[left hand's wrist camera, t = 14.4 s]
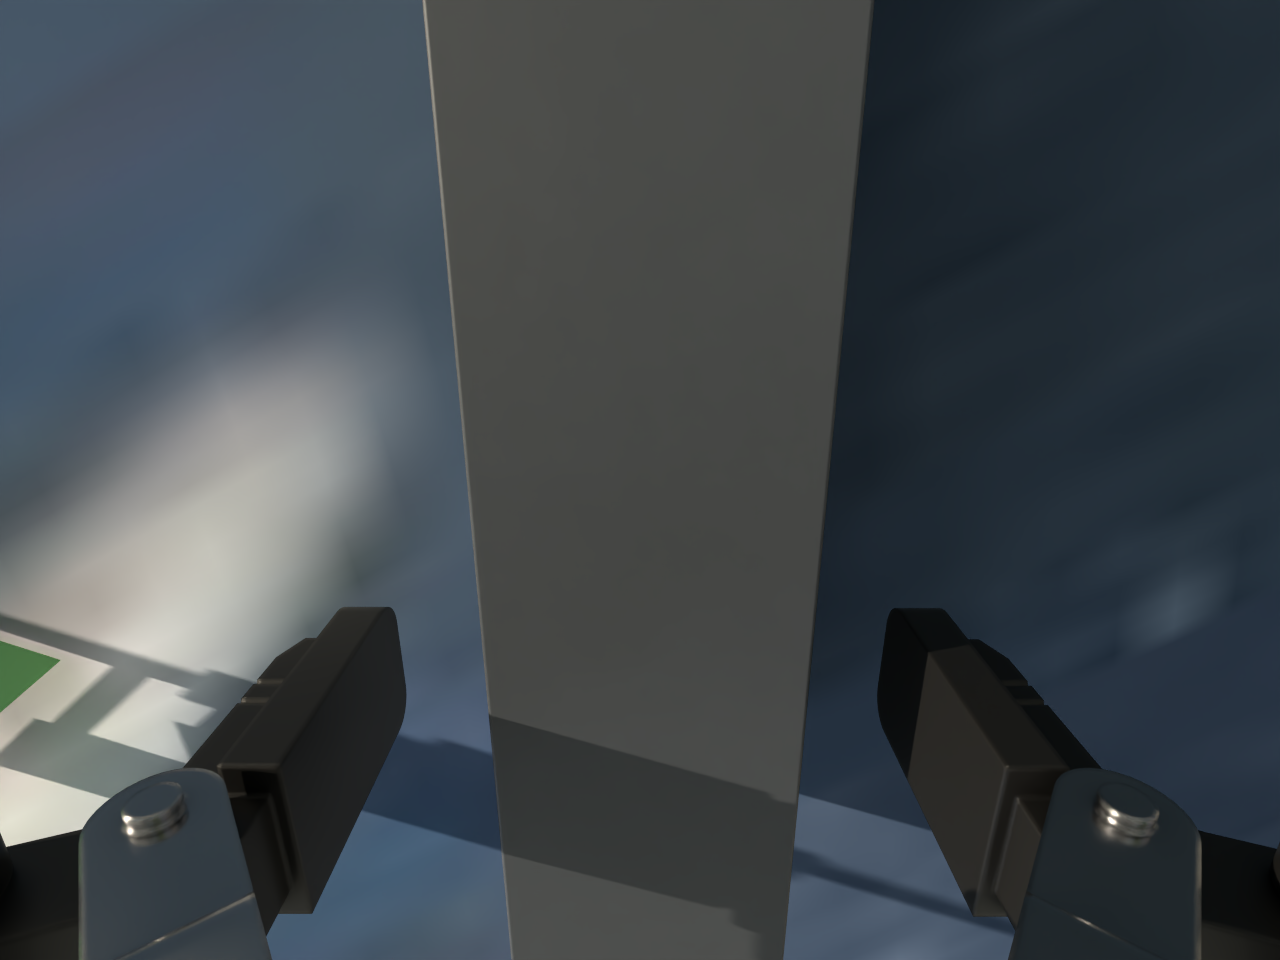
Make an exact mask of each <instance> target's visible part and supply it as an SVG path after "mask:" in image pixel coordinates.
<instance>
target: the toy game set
mask: <svg viewBox="0 0 1280 960" xmlns="http://www.w3.org/2000/svg"><path fill="white" fill-rule="evenodd" d="M59 661H60V660H58V659H55V658H52V657H49V656H46V655H43V654H39V653H36V652H33V651H30V650H27V649H24V648H21V647H17V646H14V645H11V644H8V643H5V642H2V641H0V712H1V711H2V710H4V709H5V708H6V707H7V706H8V705H9V704H11V703H12V702H13V701H14V700H15V699H16V698H17V697H19V696H20V695H21V694H22V693H23V692H24V691H26V690H27V689H28V688H29V687H30V686H31V685H32V684H34V683H35V682H36V681H37V680H38V679H39V678H41V677H42V676H43V675H44V674H45V673H46V672H48V671H49V670H50V669H51V668H52V667H53V666H54V665H56V664H57V663H58V662H59Z"/></svg>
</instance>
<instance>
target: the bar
mask: <svg viewBox="0 0 1280 960" xmlns="http://www.w3.org/2000/svg"><path fill="white" fill-rule="evenodd" d="M874 1H875V0H422V2H423V12H424V23H425V34H426V45H427V55H428V66H429V77H430V88H431V98H432V109H433V120H434V131H435V141H436V152H437V163H438V174H439V184H440V195H441V206H442V217H443V227H444V238H445V249H446V260H447V270H448V281H449V292H450V303H451V313H452V324H453V335H454V346H455V356H456V367H457V378H458V389H459V399H460V410H461V421H462V432H463V442H464V453H465V464H466V475H467V485H468V496H469V507H470V518H471V528H472V539H473V550H474V561H475V571H476V582H477V593H478V604H479V614H480V625H481V636H482V647H483V657H484V668H485V679H486V690H487V700H488V711H489V722H490V733H491V743H492V754H493V765H494V776H495V786H496V797H497V808H498V819H499V829H500V840H501V851H502V862H503V872H504V883H505V894H506V905H507V915H508V926H509V937H510V948H511V958H512V960H783V954H784V944H785V934H786V923H787V913H788V902H789V892H790V881H791V871H792V860H793V850H794V839H795V829H796V818H797V808H798V797H799V787H800V776H801V766H802V755H803V745H804V734H805V724H806V713H807V703H808V692H809V682H810V671H811V661H812V650H813V640H814V630H815V619H816V609H817V598H818V588H819V577H820V567H821V556H822V546H823V535H824V525H825V514H826V504H827V493H828V483H829V472H830V462H831V451H832V441H833V430H834V420H835V409H836V399H837V388H838V378H839V367H840V357H841V346H842V336H843V326H844V315H845V305H846V294H847V284H848V273H849V263H850V252H851V242H852V231H853V221H854V210H855V200H856V189H857V179H858V168H859V158H860V147H861V137H862V126H863V116H864V105H865V95H866V84H867V74H868V63H869V53H870V42H871V32H872V22H873V11H874Z"/></svg>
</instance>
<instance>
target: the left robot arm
mask: <svg viewBox="0 0 1280 960" xmlns="http://www.w3.org/2000/svg"><path fill="white" fill-rule="evenodd" d="M1027 682H1028V681H1027V680H1026V679H1025V678H1024V677H1023V675H1022V674H1021V673H1020V672H1019V671H1018V670H1017V668H1016V667H1015V666H1014V665H1013V664H1012V663H1011V661H1010V660H1009V659H1008V658H1006V657H1005V656H1003V655H1002V654H1000V653H999V652H997V651H996V650H994V649H993V648H991V647H990V646H988V645H986V644H985V643H983V642H982V641H980V640H979V639H967V638H966V636H965V635H964V634H963V633H962V631H961V630H960V629H959V628H958V626H957V625H956V624H955V622H954V621H953V620H952V619H951V617H950V616H949V615H948V614H947V612H946V611H945V610H943V609H941V608H894V609H892V610H891V612H890V614H889V616H888V619H887V625H886V632H885V639H884V647H883V654H882V661H881V668H880V675H879V682H878V691H877V703H878V712H879V717H880V721H881V725H882V728H883V730H884V732H885V735H886V737H887V739H888V741H889V743H890V745H891V747H892V749H893V751H894V753H895V755H896V757H897V759H898V762H899V764H900V766H901V768H902V770H903V772H904V774H905V776H906V778H907V780H908V782H909V784H910V786H911V788H912V791H913V793H914V795H915V797H916V799H917V801H918V803H919V805H920V807H921V809H922V811H923V813H924V815H925V817H926V820H927V822H928V824H929V826H930V828H931V830H932V832H933V834H934V836H935V838H936V840H937V842H938V844H939V846H940V849H941V851H942V853H943V855H944V857H945V859H946V861H947V863H948V865H949V867H950V869H951V871H952V873H953V875H954V878H955V880H956V882H957V884H958V886H959V888H960V890H961V892H962V894H963V896H964V898H965V900H966V902H967V904H968V907H969V909H970V911H971V913H972V915H973V917H1008V918H1009V920H1010V922H1011V924H1012V926H1013V927H1014V929H1015V935H1014V939H1013V942H1012V946H1011V950H1010V954H1009V958H1008V960H1280V843H1279V846H1278V848H1277V849H1275V848H1270V847H1266V846H1262V845H1258V844H1253V843H1249V842H1245V841H1240V840H1236V839H1232V838H1228V837H1223V836H1219V835H1215V834H1210V833H1206V832H1203V831H1199V830H1198V829H1197V827H1196V826H1195V824H1194V823H1193V821H1192V820H1191V818H1190V817H1189V816H1188V815H1187V814H1186V813H1185V812H1184V810H1182V809H1181V808H1180V807H1179V806H1178V805H1177V804H1176V803H1175V802H1173V801H1172V800H1171V799H1169V798H1168V797H1167V796H1165V795H1164V794H1163V793H1161V792H1159V791H1158V790H1156V789H1154V788H1153V787H1151V786H1149V785H1147V784H1145V783H1143V782H1141V781H1139V780H1137V779H1134V778H1132V777H1129V776H1126V775H1123V774H1120V773H1117V772H1113V771H1109V770H1104V769H1102V768H1101V767H1100V766H1099V765H1098V764H1097V762H1096V761H1095V760H1094V759H1093V758H1092V757H1091V755H1090V754H1089V753H1088V752H1087V751H1086V749H1085V748H1084V747H1083V746H1082V745H1081V744H1080V742H1079V741H1078V740H1077V739H1076V738H1075V737H1074V735H1073V734H1072V733H1071V732H1070V731H1069V729H1068V728H1067V727H1066V726H1065V725H1064V724H1063V722H1062V721H1061V720H1060V719H1059V718H1058V717H1057V715H1056V714H1055V713H1054V712H1053V711H1052V710H1051V708H1050V707H1049V706H1048V705H1044V700H1043V699H1042V698H1041V697H1040V695H1039V694H1038V693H1037V692H1036V691H1035V690H1034V688H1033V687H1032V686H1028V683H1027ZM241 699H242V701H241V703H237V704H236V706H235V707H234V708H233V709H232V710H231V712H230V713H229V714H228V715H227V716H226V717H225V719H224V720H223V721H222V722H221V723H220V725H219V726H218V727H217V728H216V729H215V731H214V732H213V733H212V734H211V735H210V736H209V738H208V739H207V740H206V741H205V742H204V744H203V745H202V746H201V747H200V748H199V749H198V751H197V752H196V753H195V754H194V755H193V757H192V758H191V759H190V760H189V761H188V763H187V764H186V765H185V766H184V767H183V768H182V769H176V770H171V771H167V772H163V773H160V774H157V775H154V776H151V777H148V778H146V779H143V780H141V781H139V782H137V783H135V784H133V785H131V786H129V787H127V788H126V789H124V790H122V791H121V792H119V793H117V794H116V795H115V796H113V797H112V798H111V799H109V800H108V801H107V802H105V803H104V804H103V805H102V806H101V807H100V808H99V809H98V810H96V812H95V813H94V814H93V815H92V816H91V817H90V818H89V820H88V821H87V823H86V824H85V826H84V827H83V829H82V830H78V831H73V832H69V833H65V834H60V835H56V836H52V837H47V838H43V839H39V840H35V841H30V842H26V843H22V844H17V845H13V846H9V847H6V846H5V843H4V841H3V838H2V836H1V834H0V960H272V958H271V954H270V950H269V946H268V942H267V939H266V936H267V934H268V932H269V930H270V928H271V926H272V924H273V922H274V921H275V919H276V917H277V915H278V914H312V913H313V911H314V909H315V907H316V904H317V902H318V900H319V898H320V896H321V894H322V892H323V890H324V888H325V886H326V883H327V881H328V879H329V877H330V875H331V873H332V871H333V869H334V867H335V865H336V862H337V860H338V858H339V856H340V854H341V852H342V850H343V848H344V846H345V844H346V842H347V839H348V837H349V835H350V833H351V831H352V829H353V827H354V825H355V823H356V821H357V818H358V816H359V814H360V812H361V810H362V808H363V806H364V804H365V802H366V800H367V797H368V795H369V793H370V791H371V789H372V787H373V785H374V783H375V781H376V779H377V776H378V774H379V772H380V770H381V768H382V766H383V764H384V762H385V760H386V758H387V756H388V753H389V751H390V749H391V747H392V745H393V743H394V741H395V739H396V737H397V735H398V732H399V730H400V728H401V725H402V722H403V718H404V714H405V707H406V684H405V677H404V669H403V662H402V655H401V648H400V640H399V633H398V626H397V620H396V616H395V613H394V611H393V609H392V608H390V607H342V608H341V609H339V610H338V611H337V613H336V614H335V615H334V616H333V618H332V619H331V620H330V622H329V623H328V624H327V625H326V627H325V628H324V629H323V630H322V632H321V633H320V634H319V636H318V637H317V638H305V639H303V640H302V641H300V642H299V643H297V644H296V645H294V646H293V647H291V648H290V649H288V650H287V651H285V652H284V653H282V654H281V655H279V656H277V657H276V658H275V659H274V661H273V662H272V663H271V664H270V665H269V666H268V668H267V669H266V670H265V671H264V672H263V674H262V675H261V676H260V677H259V678H258V680H257V684H253V685H252V687H251V688H250V689H249V690H248V691H247V693H246V694H245V695H244V696H243V697H242V698H241Z"/></svg>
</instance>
